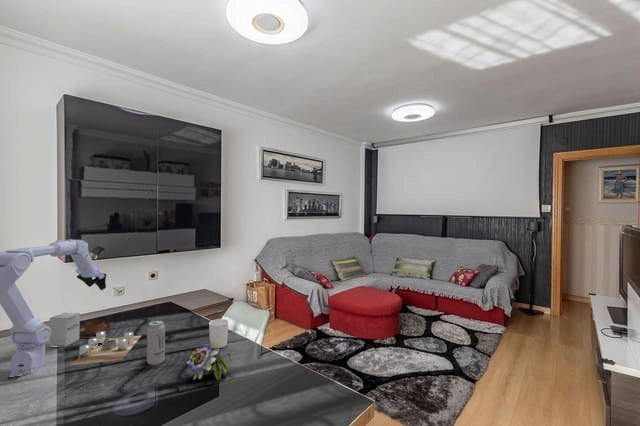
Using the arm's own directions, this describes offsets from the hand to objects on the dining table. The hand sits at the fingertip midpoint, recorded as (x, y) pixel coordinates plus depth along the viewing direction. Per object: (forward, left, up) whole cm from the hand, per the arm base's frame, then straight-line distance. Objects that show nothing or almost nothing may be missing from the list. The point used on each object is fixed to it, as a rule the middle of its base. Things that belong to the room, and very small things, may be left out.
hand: (97, 287), depth 139 cm
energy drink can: (-33, -32, -23) cm, 52 cm away
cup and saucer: (+3, +2, -23) cm, 23 cm away
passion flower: (-47, -52, -23) cm, 74 cm away
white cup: (-23, -54, -23) cm, 63 cm away
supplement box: (-5, +10, -23) cm, 26 cm away
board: (-17, -11, -23) cm, 31 cm away
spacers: (-15, -11, -22) cm, 29 cm away
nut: (-16, -11, -22) cm, 29 cm away
